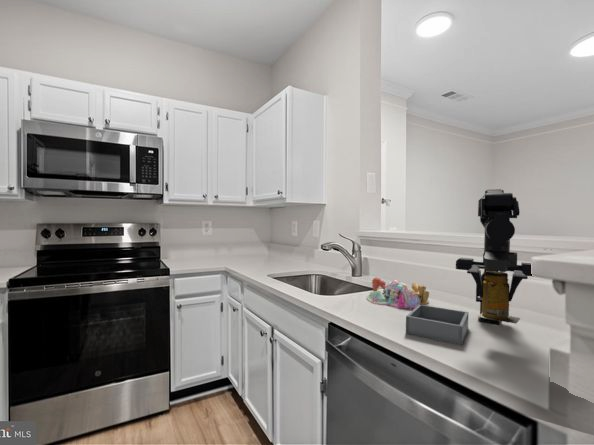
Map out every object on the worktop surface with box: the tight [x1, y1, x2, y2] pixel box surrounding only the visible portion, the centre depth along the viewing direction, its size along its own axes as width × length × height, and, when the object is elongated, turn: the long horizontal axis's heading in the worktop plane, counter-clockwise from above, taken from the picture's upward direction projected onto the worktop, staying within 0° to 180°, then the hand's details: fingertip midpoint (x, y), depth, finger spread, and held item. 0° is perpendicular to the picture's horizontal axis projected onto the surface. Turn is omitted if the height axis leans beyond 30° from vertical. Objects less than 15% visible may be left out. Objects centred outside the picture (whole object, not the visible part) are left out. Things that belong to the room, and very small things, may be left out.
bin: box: [405, 304, 469, 346], centre depth 94 cm, size 17×15×5 cm
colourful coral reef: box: [366, 277, 430, 310], centre depth 128 cm, size 25×24×9 cm
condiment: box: [477, 271, 521, 325], centre depth 82 cm, size 7×8×12 cm
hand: (495, 299), depth 82 cm, fingers closed on condiment, 6 cm apart
